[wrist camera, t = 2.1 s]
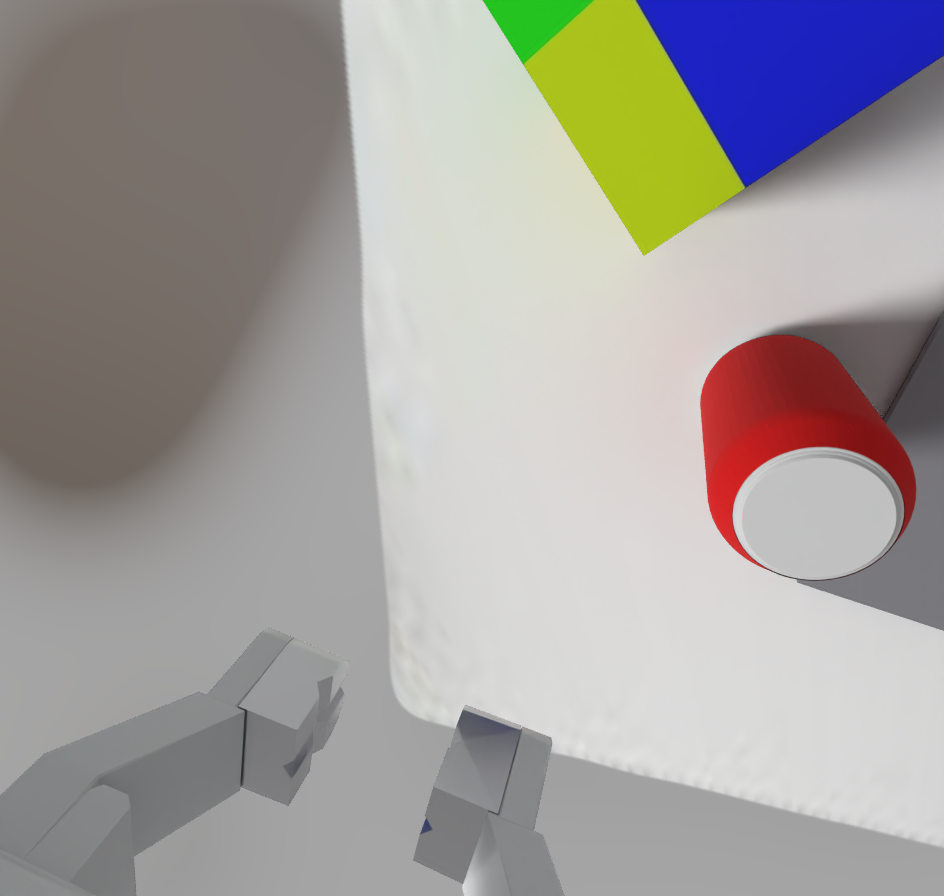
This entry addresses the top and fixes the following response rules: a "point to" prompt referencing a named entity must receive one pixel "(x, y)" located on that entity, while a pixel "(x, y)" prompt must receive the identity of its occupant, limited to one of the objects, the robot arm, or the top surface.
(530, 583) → the top surface
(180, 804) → the robot arm
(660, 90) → the puzzle toy
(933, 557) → the mat
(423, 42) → the top surface
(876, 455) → the beverage can
